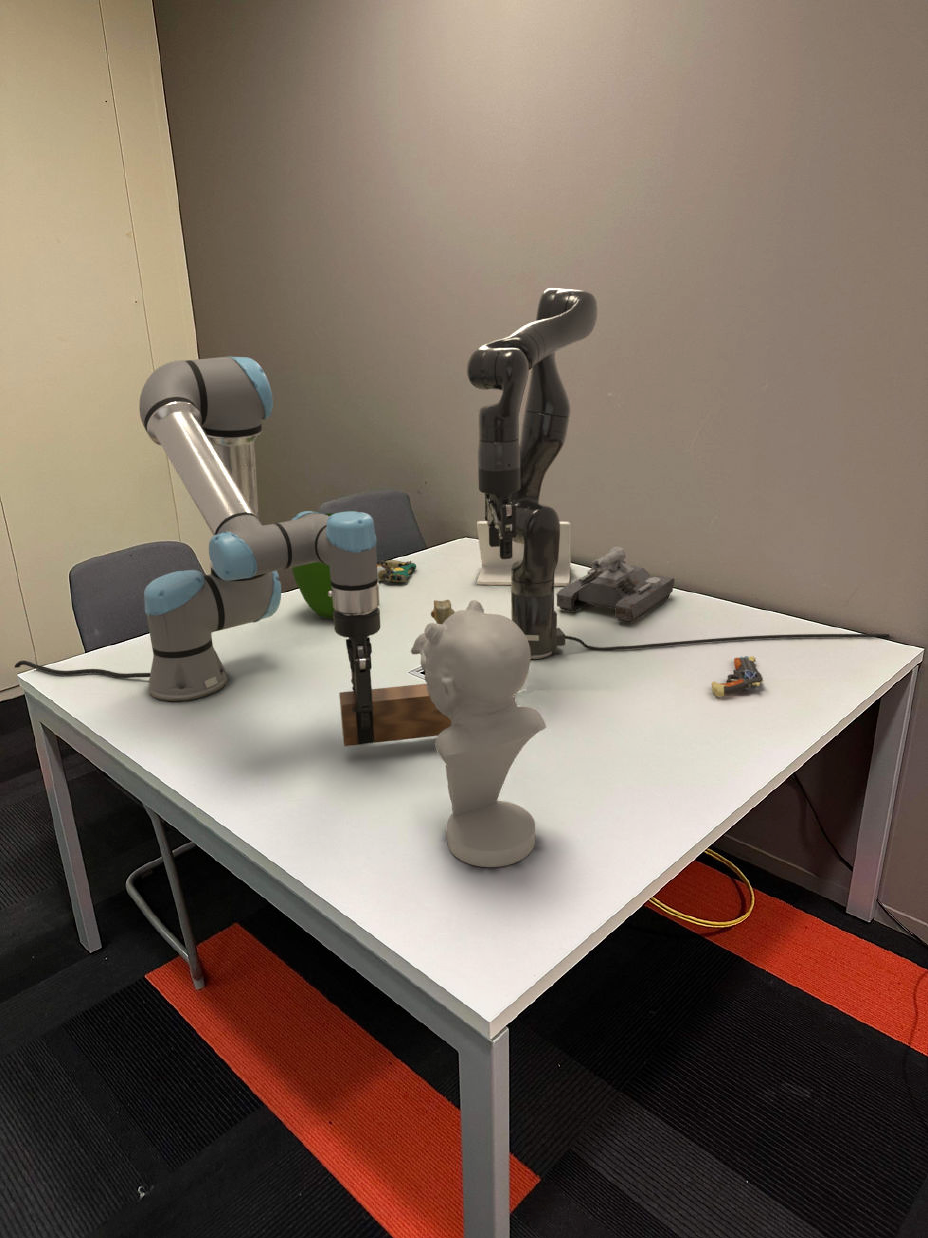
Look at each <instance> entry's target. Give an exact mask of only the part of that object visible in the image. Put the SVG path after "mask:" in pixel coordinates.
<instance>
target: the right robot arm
mask: <svg viewBox="0 0 928 1238" xmlns="http://www.w3.org/2000/svg"><path fill="white" fill-rule="evenodd" d="M597 318H598V302H597V299H596V297H595V296H594V294H592V293H591V292H589V291H586V290H581V289H571V288H556V287H548V288H546V289H545V290H544V291H543V292H542V294H541V296H540V299H539V301H538V305H537V310H536V318H535V321H532V322H529V323H526V324H524V325H522V326H520V327H518V328H516V330H515V331H513V332H512V333H510V334H508V336H506V337H504V338H500V339H496V340H494V341H491V342H489V343H485V344H483V345H481V346H479V347H478V348H477V349H475V350H474V351H473V352H472V354H471V355H470V357H469V358H468V361H467V365H466V376H467V379H468V381H469V383H471V385H472V386H473V387H475V388H476V389H478V390H482V391H501V392H502V394H501V396H500V399H499V401H498V402H495V403H491V404H486V405H484V406H482V407H481V408H480V409H479V412H478V450H477V466H478V467H477V468H478V470H477V471H478V491H479V492H480V493H482V494H484V521H487V525H488V527H489V545H490V546H491V547H499V546H500V558H501V559H511V558H512V541H513V542H516V543H519V544H522V545H524V552H523V559H522V560H519V561H516V562H514V563H513V564H512V567H511V585H510V588H511V589H510V597H511V599H510V603H511V604H510V606H511V607H510V609H511V610H510V615H511V617H510V619H511V620H512V621H513V622H514V623H515V624H516V625H517V626H518V627H519V628H520V629H521V630H522V632H523V633H524V634H525V636H526V638H527V640H528V643H529V646H530V652H531V653H530V655H531V656H530V660H540V659H545V658H548V657H550V656H552V655H557V654H558V653H557V650H558V649H557V648H558V647H562V646H566V640H570V641H574V642H577V643H579V644H580V645H581V646H583V647H584V648H585V649H588V650H590V651H591V650H592V651H601V652H602V651H604V652H605V651H618V650H636V649H647V648H659V647H669V646H679V645H692V644H694V645H695V644H703V643H705V644H706V643H715V642H716V643H717V642H730V641H731V642H732V641H747V640H765V639H768V640H769V639H794V638H795V639H796V638H797V639H798V638H890V633H803V634H801V633H800V634H799V633H798V634H796V633H795V634H767V635H766V634H765V635H748V636H747V635H746V636H731V637H717V638H705V639H703V638H702V639H694V640H693V639H692V640H682V641H680V640H679V641H671V642H670V641H669V642H658V643H647V644H646V643H645V644H636V645H619V646H607V647H606V646H605V647H597V646H592V645H588V644H587V643H585V642H584V641H583V640H582V639H580V638H578V637H574V636H571V635H566V634H565V632H564V631H562V629H561V628H560V627H558V613H557V612H556V611H555V586H554V572H555V568H556V566H557V563H558V557H559V542H560V522H561V521H560V517H559V514H558V512H557V511H556V509H554V508H553V507H551V506H549V505H547V504H546V505H545V504H542V503H540V495H541V489H542V485H543V481H544V479H545V476H546V474H547V472H548V470H549V469H550V467H551V466H552V464H553V463H554V461H555V460H556V458H557V457H558V455H559V453H560V452H561V450H562V449H563V446H564V445H565V442H566V439H567V435H568V429H569V423H570V422H569V421H570V418H571V417H570V416H571V403H570V400H569V396H568V394H567V391H566V389H565V385H564V384H563V381H562V379H561V377H560V373H559V371H558V368H557V362H556V352H557V351H559V350H561V349H563V348H566V347H568V346H569V345H572V344H574V343H577V342H579V341H580V342H581V341H582V340H584V339H586V338H587V337H589V336H590V335H591V334H592V332H593V331H594V330H595V329H594V328H595V326H596V322H597ZM530 371H531V372H530ZM529 372H530V378H529ZM528 378H529V379H528ZM528 380H529V384H528V392H527V396H526V401H525V405H524V406H525V407H524V413H523V419H522V424H521V425H522V426H521V432H520V425H519V422H520V421H519V420H520V419H519V418H520V417H519V416H520V410H521V407H522V401H523V398H524V393H525V390H526V386H527V382H528ZM520 433H521V435H520ZM519 438H520V439H519Z"/></svg>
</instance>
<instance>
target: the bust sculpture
mask: <svg viewBox="0 0 928 1238" xmlns="http://www.w3.org/2000/svg"><path fill="white" fill-rule="evenodd" d="M454 612H455V613H453V614H452V615H451V616H450V617H448V618H447V619H446V620H445V622H444V623H443V624H436V623H435V622H430V623H428V624H427V625H426V626H425V628H424V632H423V633H421V634H419V635H418V636H417V637H416V638H415V640H414V642H413V645H412V647H411V649H410V654H412V655H420V667H421V669H422V670H423V672H424V681H425V682H426V683H425V684H427V691H428V693H429V695H430V698H431V701H432V702H433V703H434V704H435V706H436V708H437V709H438V710H439V711H440V712H441V713H442V714H443V715H446V716H447V717H448V718H449V719H450V720H451V726H450V727H448V728H446V729H445V730H443V731H442V732H441V733H440V734H439V735H438V736H435V737H436V738H435V741H434V748H435V749H436V752H437V753H438V755H439V757H440V758H441V760H442V761H443V762H444V763H445V771H446V781H447V790H448V796H449V800H450V803H451V810H452V813H451V814H450V815H449V817H448V819H447V822H446V844H447V847H448V849H449V851H450V852H451V854H452V855H453V856H454V857H456V858H457V859H459V860H460V861H462V862H463V863H466V864H469V865H471V866H476V867H483V868H498V867H505V866H509V865H512V864H517V862H520V861H521V860H523V859H525V858H527V856H528V855H530V854H531V852H532V851H533V849H535V848H534V847H535V845H536V822H535V821H536V820H535V819H534V817H533V816H532V814H531V813H530V812H529V811H528V810H526V809H525V808H524V807H522V806H520V805H517V804H515V803H513V802H509V801H504V800H499V796H500V793H501V790H502V788H503V785H504V783H505V780H506V778H507V776H508V773H509V771H510V769H511V768H512V765H513V763H514V761H515V760H516V759H517V756H518V755H519V753H520V752H521V750H522V749H523V748H524V747H525V745H526V744H527V743H528V742H529V741H530V740H531V739H532V738H533V737H535V735H537V734H538V733H539V732H541V731H544V730H545V729H546V728H547V725H546V723H545V720H544V718H543V717H542V714H541V713H540V712H539V711H538V710H537V709H535V708H533V707H530V706H518V705H517V701H516V699H517V698H516V696H515V695H516V694H517V693H519V691H521V689H522V688H523V686H524V684H525V683H526V680H527V678H528V675H529V669H530V666H531V659H530V656H531V655H530V653H531V652H530V646H529V643H528V640H527V638H526V636H525V634H524V633H523V632H522V630H521V629H520V628H519V627H518V626H517V625H516V624H515V623H514V622H513V621H512V620H511V618H508V617H507V616H504V615H503V614H502V615H501V614H496V613H485V609H484V607H483V605H482V603H481V602H480V601H478V600H473V599H472V600H470V601H469V603H468V605H467V607H466V609H460V610H457V611H454Z"/></svg>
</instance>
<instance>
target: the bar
mask: <svg viewBox="0 0 928 1238" xmlns="http://www.w3.org/2000/svg"><path fill="white" fill-rule="evenodd" d="M338 694H339V696H338V697H339V706H340V708H339V709H340V721H341V733H342V739H343V746H344V747H350V746H352V747H353V746H360V745H362V744H358V735H357V721H356V712H353V711H352V708H353V707H356V706H357V705H356V692H355V691H353V690H350V691H340V692H339V693H338ZM372 704H373V708H374V709H373V711H372V712H373V728H374V743H373V744H376V743H377V744H378V743H386V742H394V741H404V740H412V739H422V738H431V737H437V736H438V735H439V734H440V733H441V732H442V731H443V730H445V729H446V728H448V727H450V726H451V720H450V719H449V718H448V717H447V716H446V715H443V714H442V713H441V712H440V711H439V710H438V709H437V708H436V706H435V704H434V703H433V702H432V701H431V698H430V695H429V693H428V691H427V683H420V684H410V685H409V684H408V685H399V686H390V687H389V686H388V687H379V688H372ZM369 744H371V743H367V744H366V745H369Z"/></svg>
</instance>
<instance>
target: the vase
mask: <svg viewBox="0 0 928 1238" xmlns="http://www.w3.org/2000/svg"><path fill="white" fill-rule="evenodd" d="M324 514H325V515H328V516H329V517H330V516H331V515H333V514H335V512H334V513H333V512H331V513H324ZM291 570H292V575H293V578H294V581H295V584H296V586H297V587H298V589H299V591H300V593H301V596H302V597H303V600H304V601H305V603H306V604H307V605H308V607H309V608H310V609H311V611H312V612H314V613H315V614H316V615H317V616H318V617H320V618H324V619H326V620H327V619H329V620H334V617H333V612H334V610H335V609H334V608H333V599H332V598H333V597H330V596H328V591H331V590H332V585H331V577H330V567H329V566H327V565H325V564H323V563H320V562H315V563H310V564H306V565H301V566H297V567H292V568H291Z"/></svg>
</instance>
